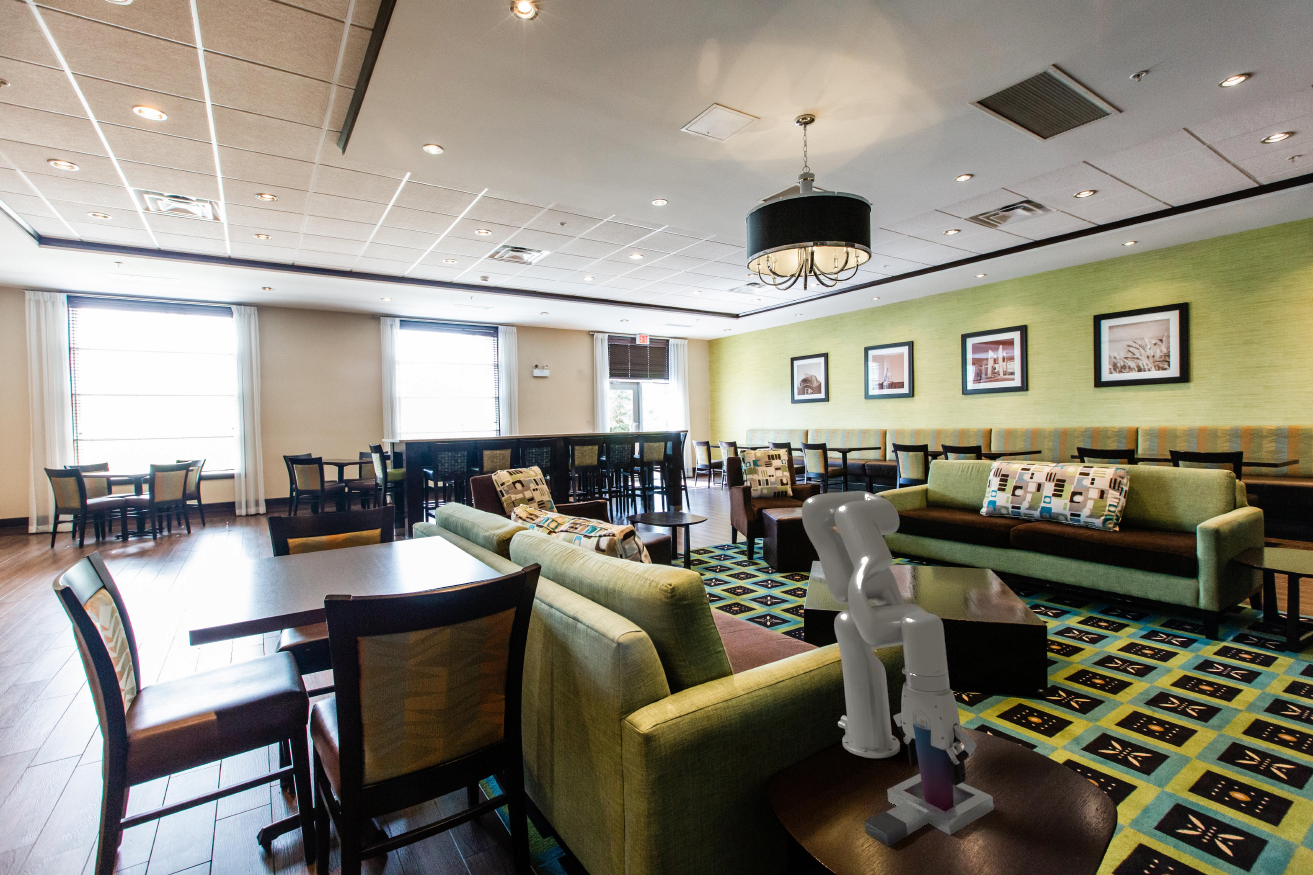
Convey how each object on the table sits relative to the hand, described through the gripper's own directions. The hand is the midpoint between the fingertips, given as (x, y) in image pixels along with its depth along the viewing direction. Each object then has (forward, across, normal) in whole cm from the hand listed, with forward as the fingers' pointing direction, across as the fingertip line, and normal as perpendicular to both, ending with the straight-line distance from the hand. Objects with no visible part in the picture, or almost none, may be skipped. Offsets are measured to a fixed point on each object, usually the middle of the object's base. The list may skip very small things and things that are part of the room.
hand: (936, 772), depth 113 cm
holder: (+6, 0, -6) cm, 8 cm away
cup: (+6, 0, 0) cm, 6 cm away
